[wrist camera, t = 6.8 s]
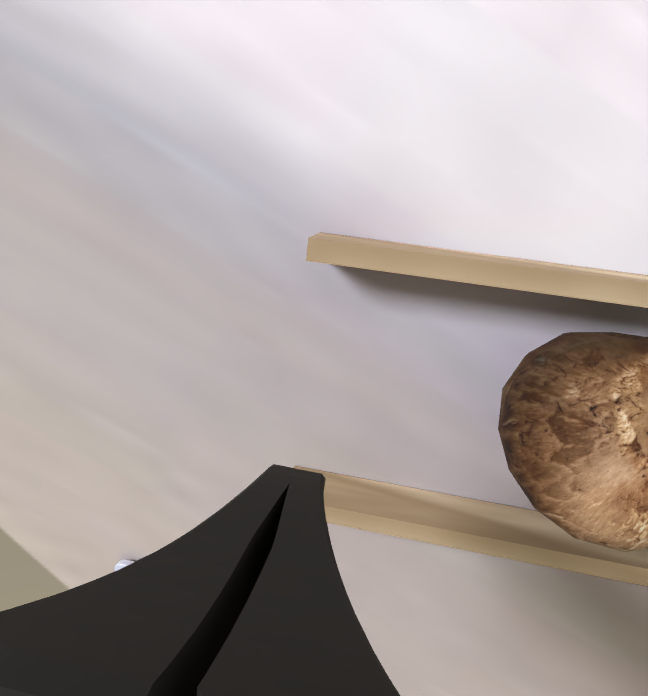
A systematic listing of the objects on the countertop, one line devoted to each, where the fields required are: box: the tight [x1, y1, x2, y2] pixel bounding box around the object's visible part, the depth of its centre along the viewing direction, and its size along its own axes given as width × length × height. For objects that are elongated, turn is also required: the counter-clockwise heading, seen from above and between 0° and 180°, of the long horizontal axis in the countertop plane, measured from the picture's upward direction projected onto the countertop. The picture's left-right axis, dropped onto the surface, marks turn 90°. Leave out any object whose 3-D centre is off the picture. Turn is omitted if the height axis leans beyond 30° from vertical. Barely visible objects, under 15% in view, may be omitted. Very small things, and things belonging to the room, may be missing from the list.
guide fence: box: [294, 232, 648, 586], centre depth 18 cm, size 12×17×4 cm
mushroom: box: [498, 332, 648, 552], centre depth 17 cm, size 8×8×6 cm
